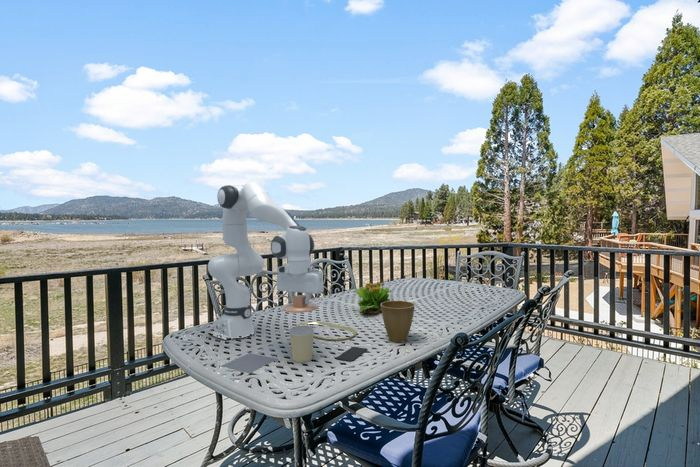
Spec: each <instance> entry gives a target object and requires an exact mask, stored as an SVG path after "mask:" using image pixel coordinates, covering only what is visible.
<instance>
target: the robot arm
mask: <svg viewBox="0 0 700 467" xmlns="http://www.w3.org/2000/svg"><path fill="white" fill-rule="evenodd" d="M217 202H218V204H219V206H220V207H221V208H223V209H222V210H223V211H222V222H221V223H222V237H223V238H222V240H223V243H224V244H225V245H228V246H229V247H231V248H233V249H235V251H236V253H232V254H220V255H216V256H213V257H211V258H210V259H209V262H208V263H207V270H208V273H209V275H210V276H211V277H212V278H214V279H215V280H217V281H218V282H219V283H220V284H221V286H222V287H223V290H224V296H225V306H224V307H223V308H222V311H223V314H222V315H221V316H220V317H219V318H217V319H216V320H215V321H214V324H213V330H214V331H215V332H218V333H220V334H223V335H226V336H228V337H229V338H230V337H239V336H246V335H250V334H252V333H253V332H254V331H255V327H254V323H253V322H254V321H253V317H252V304H251V294H250V293H251V290H250V288H249V287H248V286H247V285H245V284H244V283H241V282H238V281H237V278H238V277H239V278H241V277H247V276H248V277H249V276H255V275H257V274H260V273H261V272H263V270H264V268H265V261H264V259H263V257H262V256H261V254H259V253H258V252H256V251H255V249H254V248H253V247H252V246H251V243H250V241H249V236H248V226H247V225H248V224H247V212H248V211H249V213H250V214H251V216H252V217H253V218H254V219H255V220H257V221H260V222H263V223H268V224H269V223H270V224H273V225H276V226H279V227H281V228H283V229H284V232H282V233H280V234H278V235H276V236H274V237H273V238H272V240H271V242H270V252H271V253H272V255H273V256H274V257H275V258H276V259H282V260H284V259H287V263H286V264H284V265H281V266H278V267H277V268H276V271H277V275H276V289H277V290H278V291H279V292H289V293H288V294H289V295H288V296H290V299H291V304H293V297H294V296H296V295H295V294H296V293H300V294H303V293H304V295H305V296H306V299H305V300H303V302H304V303H303V304H306V305H307V304H309V303H310V299H311V297H312V295H313V294H315V295H318V294H322V293H324V289H325V286H324V280H323V272H322V271H321V270H320V269H319V268H312V267H311V264H312V263H311V262H312V261H311V254H312V253H313V252H314V249H315V241H314V239H313V237H312V235H311V234H310V233H309V230H308V228H306V227H305V226H302V225H300V224H299V223H298V222H297V221H296V219H294V218H293V216H292V215H291V214H290V213H289V212H288V211H287V210H286V208H285V209H284V208H283V207H282V206H280V205H279V204H278V203H277V202H276V200H274V199H273V198H272V196H271V195H270V193H269V192H268V190H267V189H266V188H265V187H264V186H263V185H262V184H261V183H260V182H258V181H255V180H252V181H249V182H246V183H244V185H243V184H242V185H231V184H230V185H229V184H228V185H227V184H226V185H224V186H221V187H220V188H219V189H218V192H217ZM253 327H254V328H253Z"/></svg>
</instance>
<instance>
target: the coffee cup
mask: <svg viewBox="0 0 700 467" xmlns="http://www.w3.org/2000/svg"><path fill="white" fill-rule="evenodd" d="M288 333H289V339H290V340H289V341H290V349H291V357H292V361H293V362H296V363H306V362H310V361H312V360H313V356H314V355H313V354H314V337H313V335H314V328H313V326H311V325H306V326H297V327H294V326H293V327H292V328H290V330H289V332H288Z"/></svg>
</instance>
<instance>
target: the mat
mask: <svg viewBox="0 0 700 467" xmlns="http://www.w3.org/2000/svg"><path fill="white" fill-rule="evenodd" d="M276 360H278V358H276V357H271V356H266V355H261V354H256V353H251V352H249V353H248V352H247V354H243V355H242V356H239V357H238V358H236V359H233V360H231V361H228V362H226V363H224V364H222V365H220V367H223V368H226V369H231V370H234V371H239V372H244V373H247V374H251V373H253V372H255V371H257V370H259V369H261V368H263V367H266V366H267V365H269V364H271V363H273V362H274V361H275V362H276Z"/></svg>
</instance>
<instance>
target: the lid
mask: <svg viewBox="0 0 700 467" xmlns="http://www.w3.org/2000/svg"><path fill="white" fill-rule="evenodd" d="M305 299H306V296H305V294H297V295H295V296H294V297H293V303H290V304H286V305H285V306H283V311H284V312H287V313H294V314H297V313H298V314H299V313H309V312H313V311H315V310H317V309H318V304H316V303H312V302H309V304H307V305H306V304H303V303H304V302H303V300H305Z"/></svg>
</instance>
